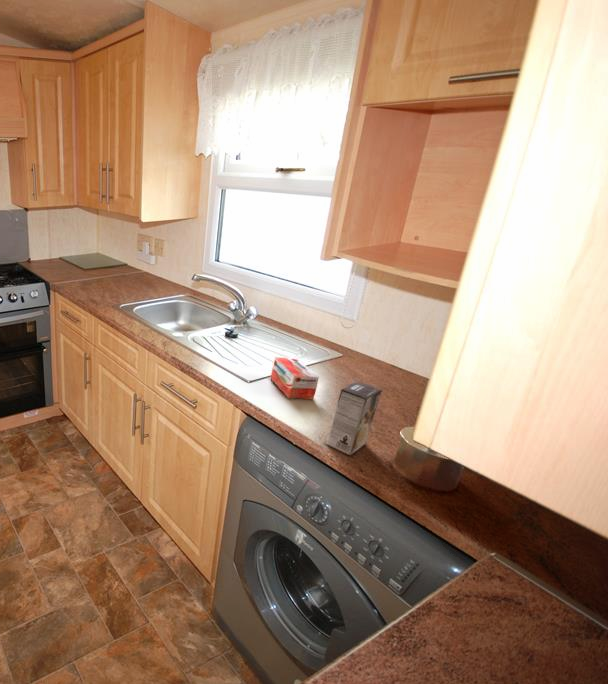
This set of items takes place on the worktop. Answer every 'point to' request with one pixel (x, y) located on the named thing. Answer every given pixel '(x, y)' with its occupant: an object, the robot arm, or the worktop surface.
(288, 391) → the medicine box
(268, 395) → the worktop surface
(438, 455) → the lid
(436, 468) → the pot
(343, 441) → the coffee box
